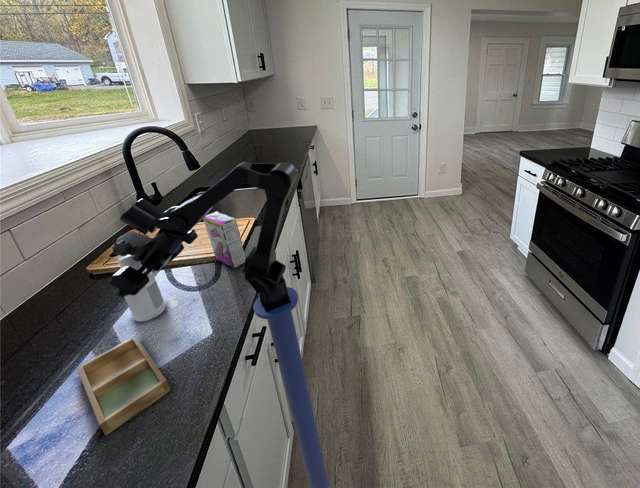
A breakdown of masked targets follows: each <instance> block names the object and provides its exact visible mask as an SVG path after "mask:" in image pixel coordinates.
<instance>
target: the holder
mask: <svg viewBox="0 0 640 488" xmlns="http://www.w3.org/2000/svg"><path fill="white" fill-rule="evenodd" d="M76 371H77V373H78V375H79V377H80V381H81V382H82V385H83V388H84V391H85V393H86V395H87V398H88V400H89V403H90V406H91V408H92V410H93V413H94V415H95V418H96V420H97V424H98V426H99V427H100V429H101V430H102V432H103V434H104V435H105V436H106V437H107V435H110V434H111V433H112V432H114V431H115V430H116V429H117V428H119V427H121V426H122V425H123V424H124V423H126V422H127V421H129V420H131V419H132V418H133V417H135V416H136V415H138V414H139V413H141V412H142V411H143V410H145V409H146V408H148V407H149V406H150V405H152V404H153V403H155V402H157V401H158V400H160V399H161V398H162V397H164V396H165V395H167V394H169V392H171V390H172V389H171V387H170V385H169V383H168V380H167V379H166V378H165V376H164V375H163V373H162V372H161V370H160V369H159V367H158V366H157V364H156V362H155V361H154V360H153V359H152V356H151V355H150V354H149V352H148V351H147V350H146V348H145V347H144V346H143V344H142V342H141V341H140V339H139V338H138V337H137V335H134V336H132V337H130V338H128V339H126V340H125V341H123V342H121V343H119V344H116V345H114V346H113V347H112V348H110V349H108V350H106V351H104V352H102V353H101V354H99V355H97V356H95V357H92V358H91V359H89V360H87V361H86V362H84V363H82V364H80V365H78V366H76Z"/></svg>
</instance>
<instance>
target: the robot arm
mask: <svg viewBox="0 0 640 488" xmlns="http://www.w3.org/2000/svg"><path fill="white" fill-rule="evenodd" d="M298 177H299V172H298V170H297V169H296V167H295V165H293V164H292V163H289V162H285V161H283V162H279V163H273V162H260V163H259V162H249V161H243V162H240V163H239V164H238V165H236V166H235V167H234V168H233V169H232V170H231V171H230V172H229V173H228V174H226V175H225V176H224V177H222V178H221V179H220V180H219V181H218V182H216V183H215V184H213V185H212V186H211V187H209V188H208V189H207V190H206V191H204V192H203V193H202V194H199V195H197V196H194V197H192V198H190V199H188V200H186V201H184V202H183V203H181V204H180V205H176V206H171V207H169V208H168V209H167V210H165V211H163V210H161V209H160V208H159V207H157V206H155V205H154V204H152V203H151V202H150V201H148V200H147V199H145V198H140V199H139V200H137V201H136V202H135V203H134V204H133V205H131V207H130V208H129V209H128V210H127V211H125V212H124V213H122V215H121V216H120V217H119V221H120V222H121V223H124V224H126V226H129V227H131V228H132V229H134V230H136V231H137V232H136V231H126V233H123V235H121V236H120V237H118V238H117V239H116V241H115V242H114V243H113V245H111V249H112V253H113V254H114V255H117V256H126V255H128V254H129V255H133V256H134V255H135V256H134V258H133V260H135V261H137V262H138V261H140V263H141V265H142V267H140V268H139V269H138V270H136V269H134V268H132V267H130V266H124V267H123V268H120V269H119V270H117V272H115V273H113V275H111V277H110V278H109V279H108V284H109V285H110V286H112V287H115V288H117V289H118V294H117V295H118V296H119V297H121V298H125V296H127V295H136V294H137V293H139V292H140V291H141V290H142V289H143V288H144V287H145V286H146V285H147V284H148V282H149V281H150V280H149V278H148V276H147V275H148V274H149V273H151V272H152V273H154V272H159V271H160V270H162V269H163V267H165V266H166V265H167V264H169V263H171V262H172V261H174V260H175V258H177V257H178V256H179V255H180V254H181V253H182V252H183V251H184V249H185V246H184V244H183V243H186V244H187V245H191V244H192V243H193V242H194V241H195V240H197V239H198V238H199V235H198V233H197V232H196V230H195V229H194V227H195V226H196V225H198V224H199V223H200V222H201V221H202V220H203V218H204V217H205V216H206V215H209V213H210V211H211V210H212V209H213V208H214V206H216V205H217V204H218V203H219V202H221V201H222V200H223V199H225V198H226V197H227V196H228V195H230V194H232V193H233V192H234V191H235V190H237V189H238V188H239V187H241V186H242V185H249V186H251V187H254V188H256V189H259V190H264V196H265V199H266V200H265V201H266V202H265V203H266V204H265V207H264V208H265V209H264V212H263V213H264V214H263V217H262V222H261V226H260V231H259V235H258V240H257V245H256V246H253V247H252V249H251V250H250V251H249V253H248V254H247V255H246V259H245V263H244V268H243V270H241V273H242V274H243V275H244V277H243V278H244V279H245V280H246V281H247V282H248V283H249V284H250V285H251V287H252V288H253V289H254V292H256V293H257V294H258V297H259V299H260V302H261V305H262V307H264V308H265V311H266V312H269V311H271V310H273V309H276V308H278V307H281V306H283V305H286V304H288V303H290V302H291V300H290V298H289V296H288V291H287V287H288V286H287V283H286V279H285V277H284V273H285V272H286V269H287V266H286V264H284V263H282V262H281V261H280V260H277V251H276V248H275V246H276V242H277V238H278V234H279V230H280V228H281V227H280V226H281V222H282V218H283V214H284V210H285V206H286V203H287V202H286V201H287V200H288V197H289V195H290V194H291V192H292V190H293V188H294V186H295V184H296V181H297V180H298ZM157 230H158V231H157ZM156 231H157V232H156ZM155 232H156V233H155ZM148 233H150V234H153V233H155V235H154V236H153V237H151V236H149V235H148ZM145 270H146V271H145ZM144 271H145V272H144ZM143 272H144V273H143Z"/></svg>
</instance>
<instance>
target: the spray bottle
mask: <svg viewBox="0 0 640 488" xmlns="http://www.w3.org/2000/svg"><path fill="white" fill-rule="evenodd" d="M134 256H135V255H134ZM134 256H133V255H129V254H128V255H126V256H120V255H117V261H118V263H119V268H120V269H121V268H123V267H124V266H130V267H132V268H134V269H136V270H138V269H139V268H140V267H142V266H143V265H141V263H140V261H138V262H137V261H135V260H133V258H134ZM145 271H146V270H145ZM145 271H144V272H145ZM144 272H143V273H144ZM147 276H148V278H149V280H150V281H149V282H148V284H147V285H146V286H145V287H144V288H143V289H142V290H141V291H140V292H139V293H137V294H136V295H127V296H125V297H124V299H125V303H126V304H127V306H128V309H129V310H130V312H131V315H132V318H133V320H135V321H136V322H147V321H150V320H152V319H154V318H156V317H158V316H159V315H161V314H162V313H163V312H164V311H165V310H166V302H165V300H164V298H163V295H162V292H161V290H160V287H159V285H158V282H157V280H156V277H155V275H154V272H151V273H149V274H148V275H147Z"/></svg>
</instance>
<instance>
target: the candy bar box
mask: <svg viewBox="0 0 640 488" xmlns="http://www.w3.org/2000/svg"><path fill="white" fill-rule="evenodd" d="M202 220H203V222H204V225H205V229H206V232H207V235H208V238H209V242H210V245H211V247H212V250H213V253H214V257H215V259H216V260H217V261H218V262H221V263H223V264H224V265H227V266H228V267H230V268H232V269H236V268H238V267H240V266H242V265H244V264H245V259H246V257H247V255H246V252H245V249H244V244H243V241H242V238H241V234H240V230H239V227H238V223H237V220H236V218H235V217H233V216H230V215H227V214H226V213H223V212H219V211H213V212H211V213H208V214H207V215H206V216H205V217H204V218H203V219H202Z"/></svg>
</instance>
